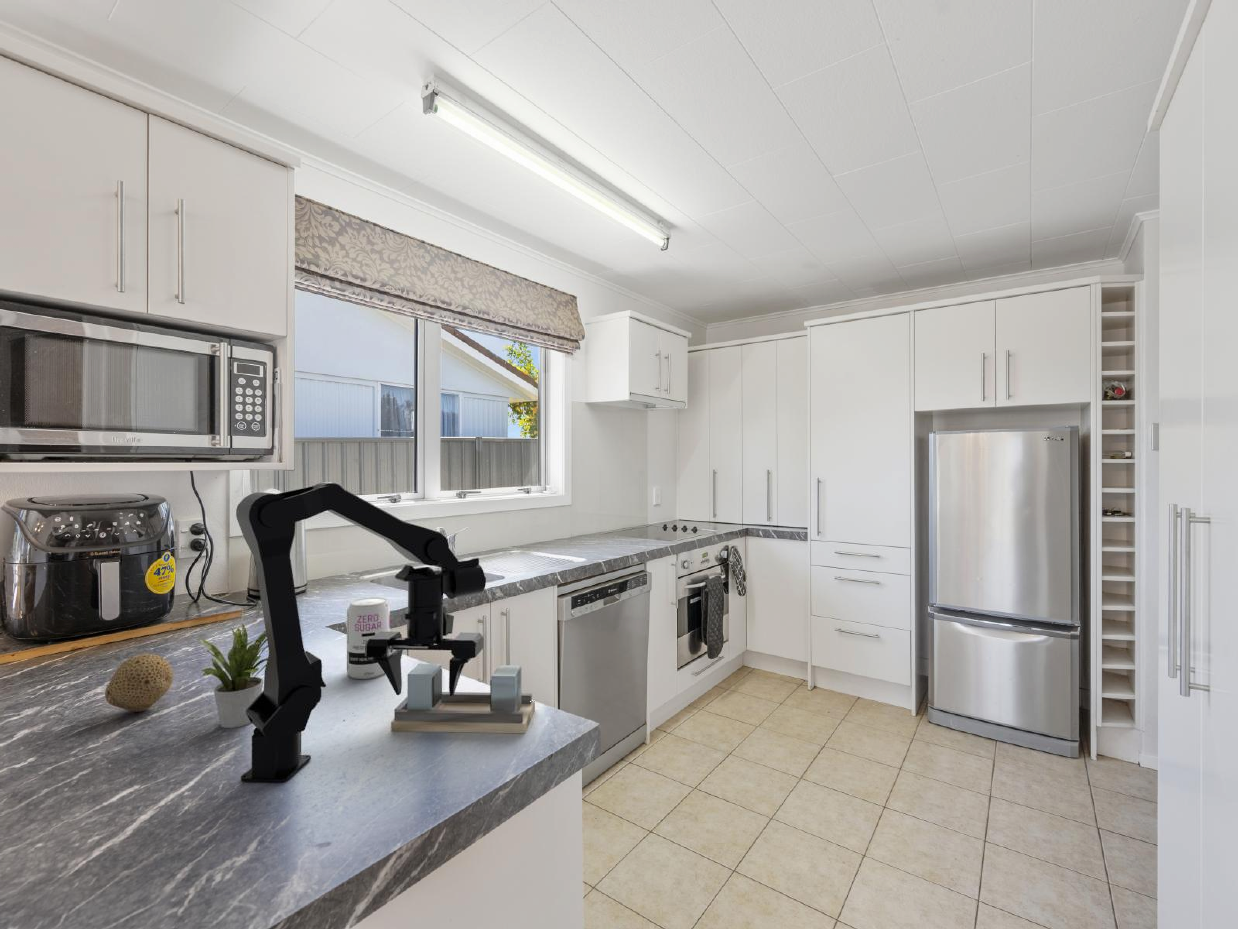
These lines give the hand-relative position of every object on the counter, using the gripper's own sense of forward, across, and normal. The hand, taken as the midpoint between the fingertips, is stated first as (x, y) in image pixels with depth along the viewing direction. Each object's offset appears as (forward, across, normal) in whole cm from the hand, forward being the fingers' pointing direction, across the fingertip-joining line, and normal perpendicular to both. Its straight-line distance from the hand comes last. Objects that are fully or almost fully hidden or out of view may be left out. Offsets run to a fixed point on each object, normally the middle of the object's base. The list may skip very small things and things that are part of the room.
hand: (425, 694), depth 98 cm
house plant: (+4, +30, +2) cm, 30 cm away
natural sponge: (+4, +51, -1) cm, 51 cm away
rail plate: (+4, -7, 0) cm, 8 cm away
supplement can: (+4, +20, -21) cm, 29 cm away
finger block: (+3, 0, 0) cm, 3 cm away
